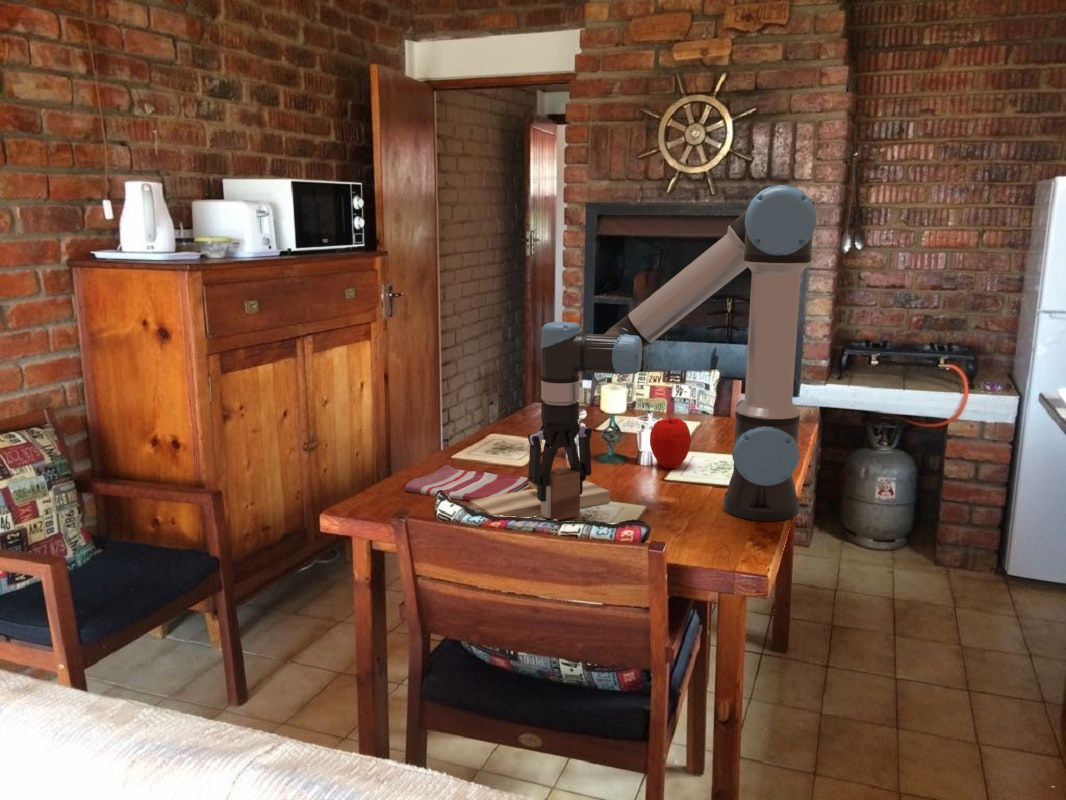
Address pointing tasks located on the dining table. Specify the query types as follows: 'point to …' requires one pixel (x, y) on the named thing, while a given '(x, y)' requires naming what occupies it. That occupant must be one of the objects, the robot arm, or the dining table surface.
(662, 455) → the apple
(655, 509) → the dining table surface
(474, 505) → the board
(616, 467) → the dining table surface
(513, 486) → the dish towel
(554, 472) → the brown wooden block
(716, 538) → the dining table surface
